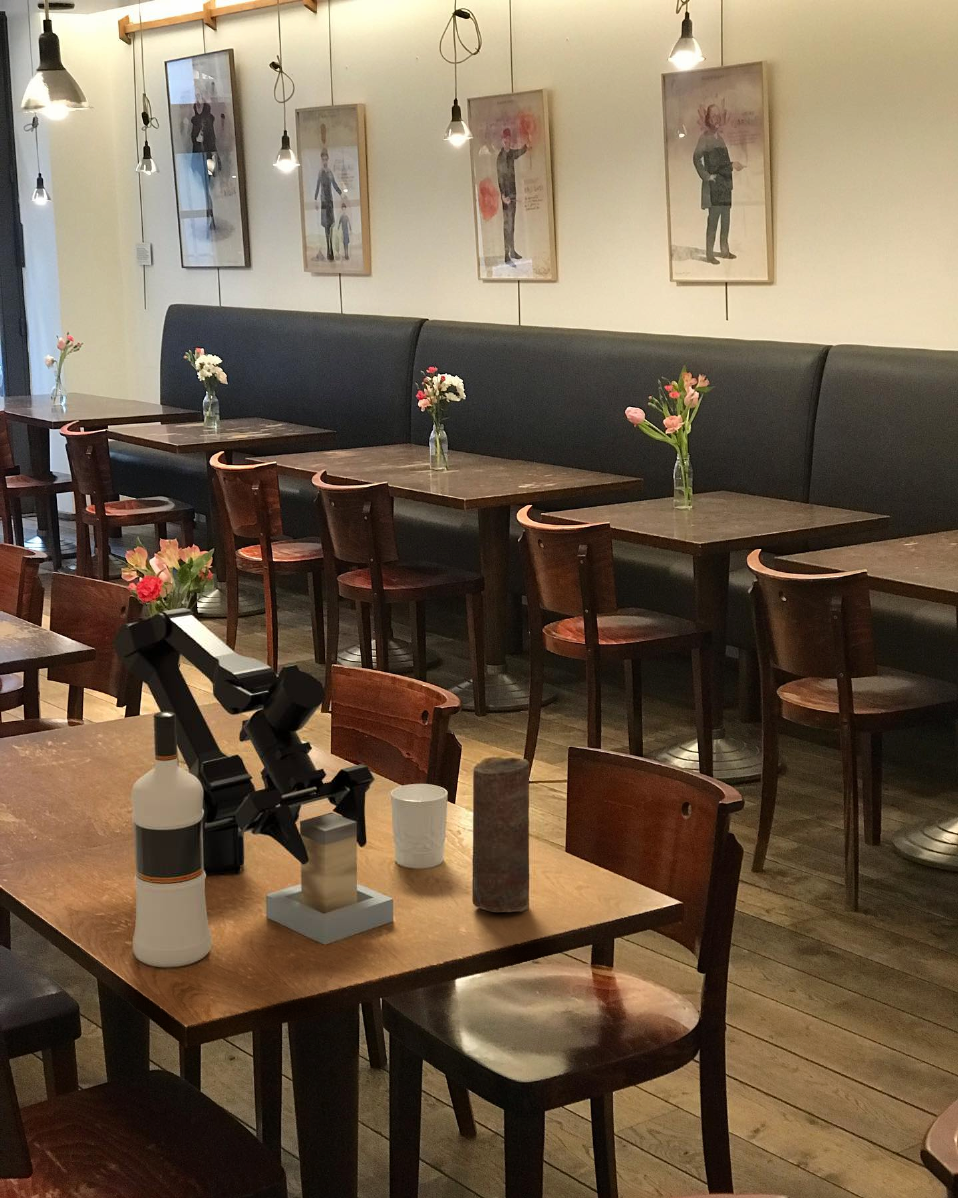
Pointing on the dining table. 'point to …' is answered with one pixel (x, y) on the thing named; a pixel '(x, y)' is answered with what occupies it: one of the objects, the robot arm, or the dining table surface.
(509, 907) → the brown textured cylinder
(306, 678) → the robot arm
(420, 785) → the white cup
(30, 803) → the dining table surface
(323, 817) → the wooden square peg
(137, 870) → the vodka
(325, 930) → the frame
